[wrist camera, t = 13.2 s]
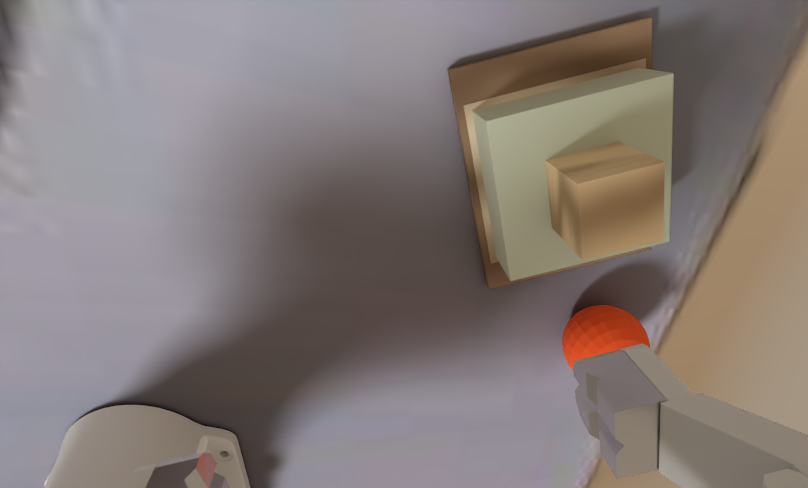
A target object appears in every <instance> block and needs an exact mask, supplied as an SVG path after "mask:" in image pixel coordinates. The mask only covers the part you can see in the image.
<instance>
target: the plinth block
mask: <svg viewBox="0 0 808 488" xmlns="http://www.w3.org/2000/svg"><path fill="white" fill-rule="evenodd" d="M673 84H674V73H670V72H663V71H657V70H650V69H644V68H636V69H632V70H628V71H624V72H620V73H616V74H612V75H608V76H605V77H601V78H597V79H593V80H589V81H585V82H581V83H577V84H573V85H570V86H566V87H562V88H558V89H554V90H550V91H546V92H542V93H539V94H535V95H531V96H527V97H523V98H519V99H515V100H511V101H508V102H504V103H500V104H496V105H492V106H488V107H484V108H480V109H476V110H473V111H472V115H473V121H474V127H475V133H476V139H477V145H478V151H479V157H480V163H481V169H482V175H483V181H484V187H485V193H486V199H487V205H488V211H489V217H490V223H491V229H492V235H493V241H494V247H495V253H496V257H497V259H498V261H499V263H500V264H501V266H502V268H503V269H504V271H505V273H506V274H507V276H508V278H509V280H510V281H514V280H518V279H522V278H526V277H530V276H534V275H538V274H542V273H546V272H550V271H554V270H558V269H562V268H566V267H570V266H574V265H578V264H582V263H586V262H590V261H594V260H598V259H602V258H606V257H610V256H614V255H618V254H622V253H626V252H630V251H634V250H638V249H642V248H646V247H650V246H654V245H658V244H662V243H666V242H670V209H671V167H672V126H673ZM616 142H621V143H624V144H626V145H628V146H630V147H633V148H635V149H637V150H639V151H641V152H644V153H646V154H648V155H650V156H652V157H655V158H657V159H659V160H661V161H664V162H665V179H664V228H663V241H658V242H654V243H650V244H646V245H642V246H638V247H634V248H630V249H626V250H622V251H618V252H614V253H610V254H606V255H602V256H598V257H594V258H589V259H585V260H582V259H581V258H580V257H579V256H578V255H577V254H576V253H575V252H574V251H573V250H572V249H571V247H570V246H569V245H568V244H567V243H566V242H565V241H564V240H563V239H562V238H561V237H560V236H559V235H558V234H557V233H556V232H555V231H554V229H553V228H552V225H551V215H550V205H549V194H548V184H547V174H546V164H545V160H548V159H552V158H556V157H560V156H564V155H568V154H572V153H576V152H580V151H584V150H588V149H592V148H596V147H600V146H604V145H608V144H612V143H616Z"/></svg>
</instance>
